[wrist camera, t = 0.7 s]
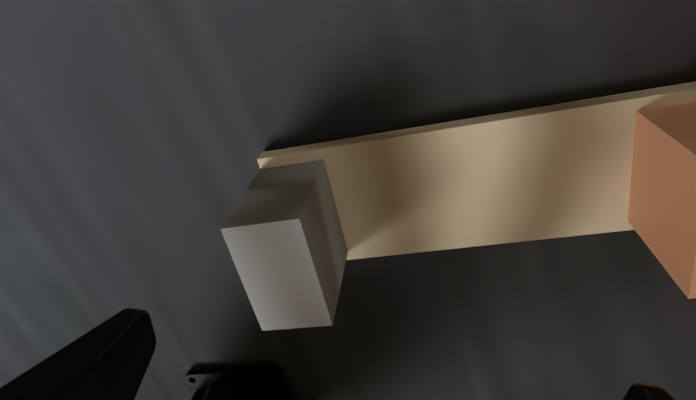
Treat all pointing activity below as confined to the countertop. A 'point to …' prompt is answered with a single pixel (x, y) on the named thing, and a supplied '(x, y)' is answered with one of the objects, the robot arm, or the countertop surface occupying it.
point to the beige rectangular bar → (431, 195)
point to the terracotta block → (666, 189)
